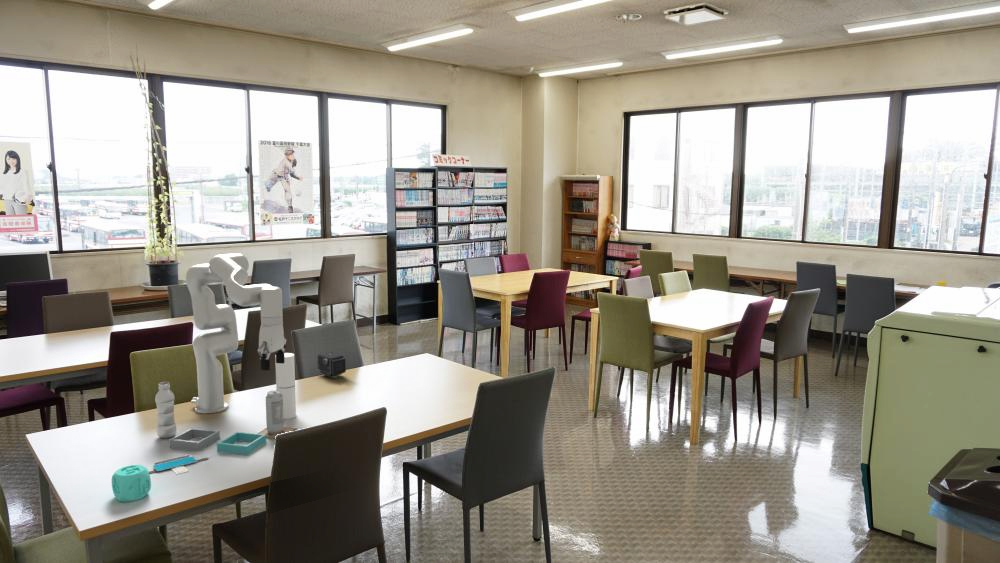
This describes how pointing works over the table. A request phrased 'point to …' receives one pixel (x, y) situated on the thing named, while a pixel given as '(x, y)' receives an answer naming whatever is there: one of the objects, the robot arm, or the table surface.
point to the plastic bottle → (165, 411)
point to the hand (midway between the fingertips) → (273, 366)
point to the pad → (272, 436)
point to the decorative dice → (131, 483)
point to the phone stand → (175, 464)
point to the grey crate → (182, 442)
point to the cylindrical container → (287, 384)
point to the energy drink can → (274, 412)
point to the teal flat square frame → (229, 447)
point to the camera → (331, 364)
